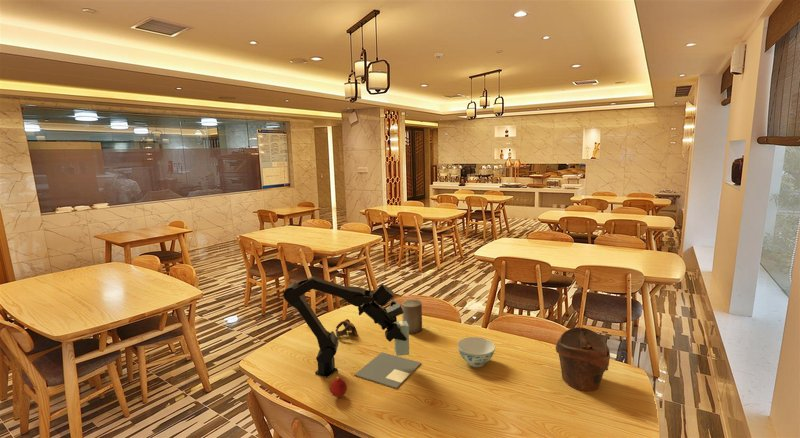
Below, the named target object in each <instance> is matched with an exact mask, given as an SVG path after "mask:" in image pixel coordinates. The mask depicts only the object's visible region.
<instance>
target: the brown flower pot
mask: <svg viewBox="0 0 800 438" xmlns="http://www.w3.org/2000/svg"><path fill="white" fill-rule="evenodd" d="M555 352H556V353H557V354H558V357H559V362H560V363H559V365H560V370H561V378H562V380H563V381H564V382H565V384H567V385H568V386H569V387H571V388H572V389H575V390H578V391H582V392H591V391H596V390H597V389H598V388H599V387H600V386H601V382H602V380H603V379H602V378H603V377H604V373H605V372H606V371H607V372H608V371H609V366H610V358H611V354H610V349H609V347H608V344H607V342H606V340H605V339H604V338H603V337H602V336H601V335H599V334H598V333H597V332H595V331H593V330H592V329H589V328H586V327H572V328H570V329H568V330H566V331H564V332H563V333H562V334H561V335H560V337H559V338H558V340H557V342H556V345H555Z"/></svg>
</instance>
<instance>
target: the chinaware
mask: <svg viewBox="0 0 800 438" xmlns="http://www.w3.org/2000/svg"><path fill="white" fill-rule="evenodd" d="M457 349H458V353H459V355H460V356H461V358H462V359H463V360H464V362H465V361H466V363H467V364H468V365H469V366H471V367H473V368H481V367H483V366H484V365H485V364H486V363H488V362H489V361H490V360H491V359H492V357H493V356H494V353H495V350H496V346H495V343H494V342H493V341H492V340H490V339H487V338H484V337H477V336H466V337H464V338H461V339H460V340H458V342H457Z"/></svg>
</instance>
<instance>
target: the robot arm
mask: <svg viewBox="0 0 800 438" xmlns="http://www.w3.org/2000/svg"><path fill="white" fill-rule="evenodd" d="M311 290H314V291H317V292H321V293H324V294H327V295H332V296H334V297H338V298H340V299H343V300H344V301H345V302H346V303H348V304H349V305H352V306H354V307H357V310H358V316H361V315H362V314H363V313H364V314H365V315H367V316H368V317H369V318H370V319H371V320H372V321H373V323H374V324H375V325H377V324H378V325H379V326H380V328H381V329H382V330H383V331H384V336H385V339H386V340H387V341H389V342H392V341H394V339H398V340H402V341H406V340H407V338H406V337H405V336H404V334H403V333H402V332H401V328H400V325H398V324H397V323H394V322H398V320H397V317H398V316H400V315H402V314H403V313H404V311H403V309H402V304H400V302H398V301H397V302H396V301H395V300H392V299H393V298H394V297H396V294H395V292H394V291H393V290H392V288H390V287H389V286H387V285H384V283H380V285H379V286H378V287H377V288H376V289H375V290H370V289H365V288H363V287H360V286H353V285H351V286H346V285H345V286H344V285H341V284H338V283H335V282H332V281H329V280H325V279H322V278H319V277H317V276H314V275H312V276H310V277H309V278H306V279H302V280H300V281H298V282H292V283H289V284H288V286H287V287H286V288H285V290H284V291H283V294H282V295H283V296H282V297H283V299H284V300H285V301H286V302H287V303H288V305H289V306H291V307H292V308H294V309H296V310H297V312H298V313H299V314H300V316H301V317H302V319H303V321H304V322H305V323H306V325H307V326H308V328H309V329H310V330H311V332H312V334H313V335H314V336H315V338H316V340H317V343H318V348H319V350H318V353H317V356H316V357H315V359H316V363H317V370H316V371H315V372H314V374H315V375H319V376H322V377H325V378H329V377H330V376H332V375H333V374H334V373H336V372H337V371H338V367H336V365H335V364H336V363H335V361H336V360H335V355H336V354H337V351H338V347H339V336H338V337H337V336H336V332H335V331H333V330H332V331H331V332H330V331H329V330H327V329H326V328H325V326H324V325H323V323H322V322H321V321H320V319H319V318H318V316H317V315H316V313H315V311H313V309H312V307H311V306H310V303H308V301H307V298H306V293H308V292H309V291H311ZM388 303H389V306H388V307H387V308H386V307H385V306H386V305H387V304H388Z"/></svg>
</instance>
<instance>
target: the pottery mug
mask: <svg viewBox="0 0 800 438" xmlns="http://www.w3.org/2000/svg"><path fill="white" fill-rule="evenodd" d="M342 325H343V327H344V328H343V329H341V330H339V328H340V327H341V326H342ZM357 331H358V330H357V328H356V326H355V325H354V323H352V322H351V321H350V319H348V318H347V319H344V320H343V321H340V322H339V323H338V324H337V325H336V327H335V331H334V332H335V335H336V337H338V338H339V337H343V336H348V332H351V333H354V334H355V336H356V337H358V332H357Z"/></svg>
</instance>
